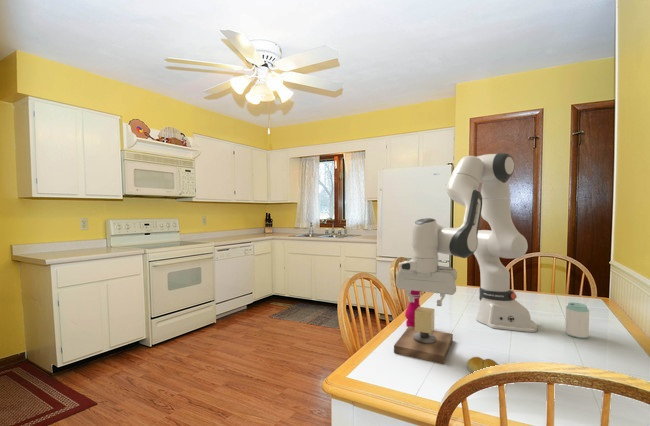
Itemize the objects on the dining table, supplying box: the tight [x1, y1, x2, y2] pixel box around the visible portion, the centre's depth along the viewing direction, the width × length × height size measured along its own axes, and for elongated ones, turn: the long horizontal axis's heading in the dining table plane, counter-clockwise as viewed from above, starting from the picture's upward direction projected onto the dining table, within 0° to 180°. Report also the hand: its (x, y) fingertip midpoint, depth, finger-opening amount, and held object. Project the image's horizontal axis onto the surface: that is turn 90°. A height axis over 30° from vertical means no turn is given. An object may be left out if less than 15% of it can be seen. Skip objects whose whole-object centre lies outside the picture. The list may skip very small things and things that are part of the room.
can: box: [564, 301, 590, 340], centre depth 124 cm, size 7×7×12 cm
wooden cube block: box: [415, 306, 435, 334], centre depth 114 cm, size 6×6×7 cm
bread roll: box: [466, 356, 499, 374], centre depth 97 cm, size 8×9×4 cm
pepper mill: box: [404, 290, 422, 328], centre depth 134 cm, size 7×7×20 cm
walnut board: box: [393, 326, 454, 365], centre depth 114 cm, size 16×20×10 cm
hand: (425, 303), depth 114 cm, fingers open, 8 cm apart
